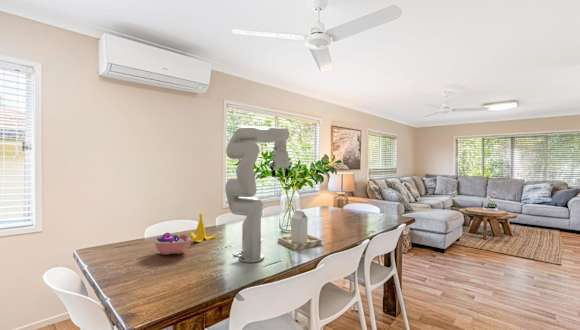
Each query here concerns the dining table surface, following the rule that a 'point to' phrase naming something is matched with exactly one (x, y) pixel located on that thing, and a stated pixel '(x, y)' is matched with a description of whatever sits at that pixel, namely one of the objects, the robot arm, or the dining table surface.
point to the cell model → (172, 243)
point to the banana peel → (201, 232)
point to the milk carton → (299, 227)
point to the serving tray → (295, 246)
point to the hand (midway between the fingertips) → (280, 176)
